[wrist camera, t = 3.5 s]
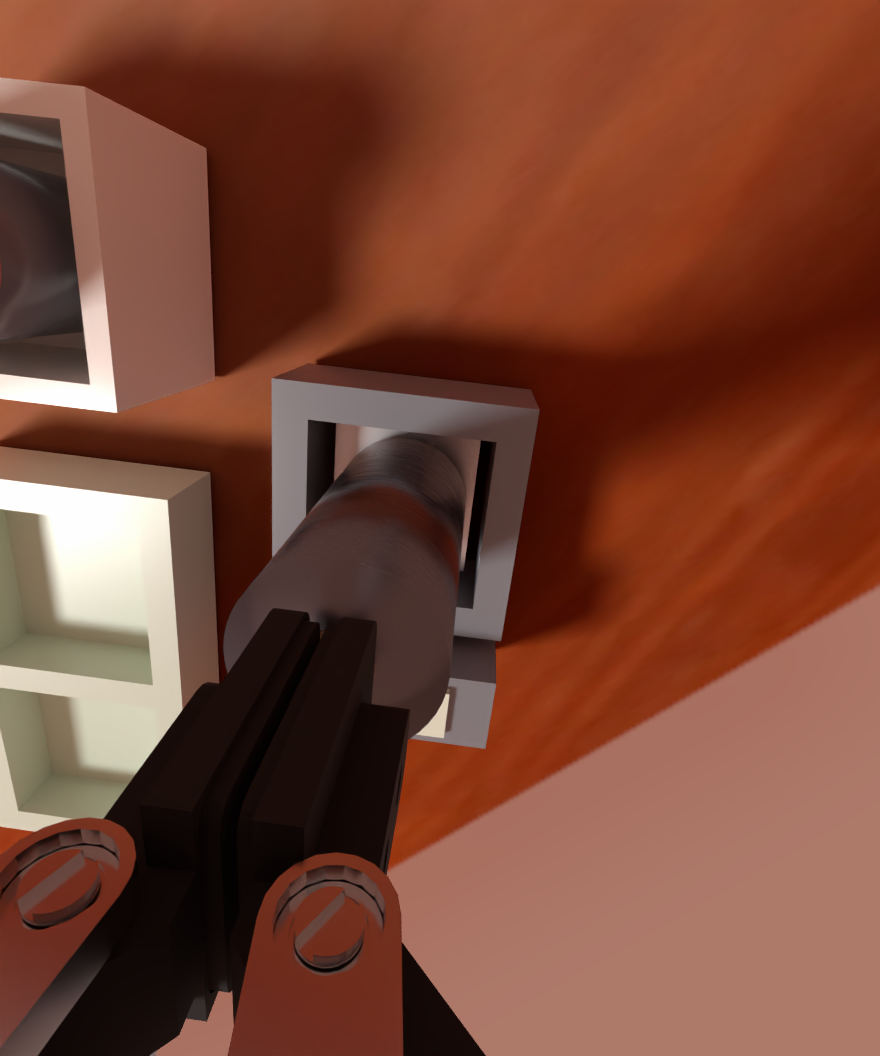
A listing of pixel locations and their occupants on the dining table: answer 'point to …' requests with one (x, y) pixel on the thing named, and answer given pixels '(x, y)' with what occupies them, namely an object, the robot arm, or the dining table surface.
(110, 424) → the dining table surface
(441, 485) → the cell
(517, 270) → the dining table surface
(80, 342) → the cup
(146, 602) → the tray
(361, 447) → the pad
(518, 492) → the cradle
